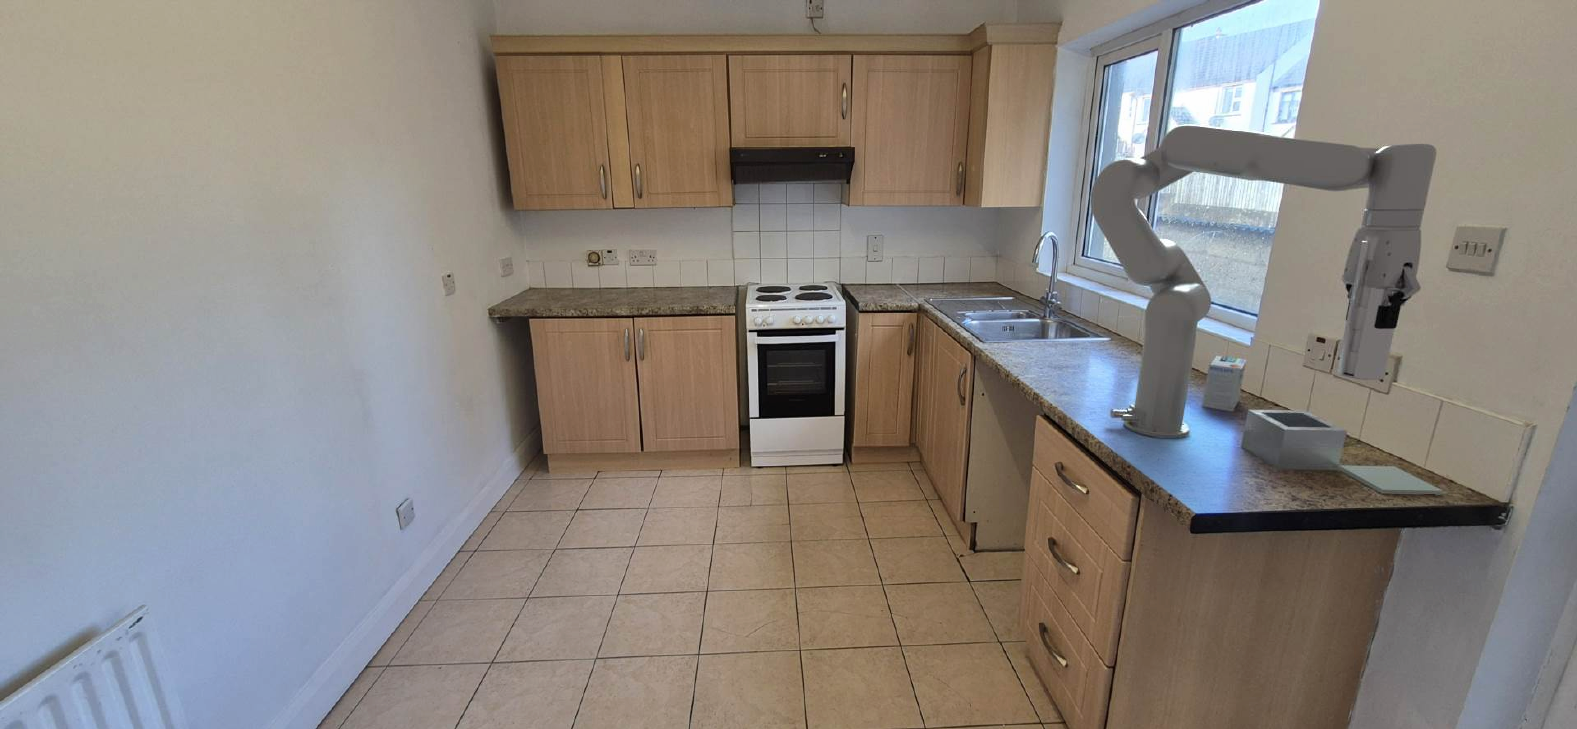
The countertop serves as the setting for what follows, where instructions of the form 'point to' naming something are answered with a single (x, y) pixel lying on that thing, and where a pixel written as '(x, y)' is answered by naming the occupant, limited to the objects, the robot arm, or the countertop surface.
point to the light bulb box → (1223, 383)
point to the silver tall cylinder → (1365, 326)
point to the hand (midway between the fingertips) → (1370, 323)
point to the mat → (1389, 480)
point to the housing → (1293, 439)
